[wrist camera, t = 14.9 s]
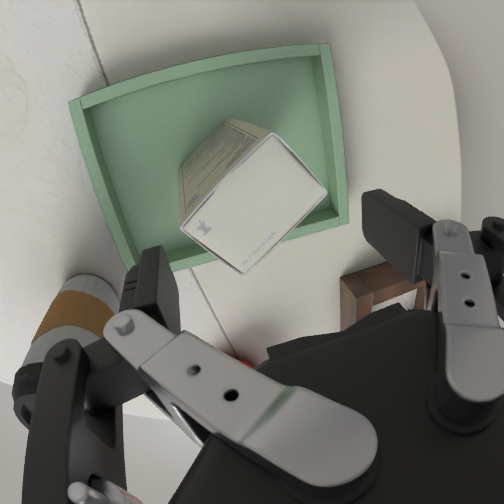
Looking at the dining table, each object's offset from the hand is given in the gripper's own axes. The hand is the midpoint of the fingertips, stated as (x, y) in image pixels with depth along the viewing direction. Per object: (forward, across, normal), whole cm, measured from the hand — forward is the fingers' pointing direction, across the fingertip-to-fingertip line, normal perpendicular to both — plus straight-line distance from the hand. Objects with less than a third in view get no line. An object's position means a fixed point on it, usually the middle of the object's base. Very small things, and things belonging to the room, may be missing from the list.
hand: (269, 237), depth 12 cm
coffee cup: (+16, +16, +10) cm, 25 cm away
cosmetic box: (+15, 0, 0) cm, 15 cm away
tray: (+16, 0, 0) cm, 16 cm away
